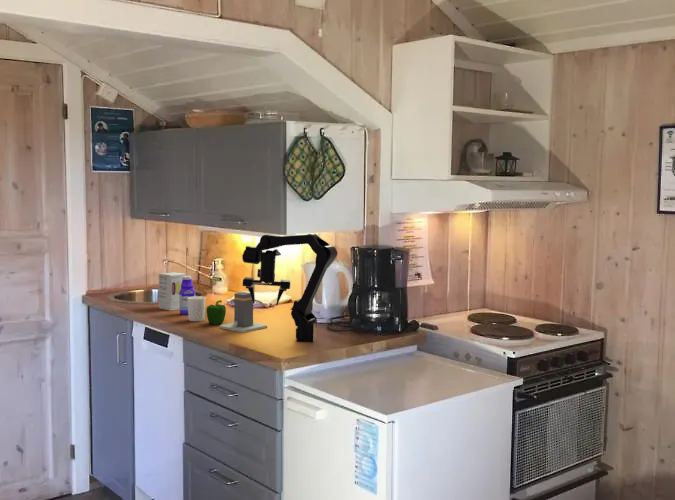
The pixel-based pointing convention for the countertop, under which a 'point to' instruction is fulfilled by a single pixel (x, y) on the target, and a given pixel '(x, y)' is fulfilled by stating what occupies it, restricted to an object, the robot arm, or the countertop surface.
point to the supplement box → (169, 290)
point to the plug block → (243, 309)
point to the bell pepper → (216, 313)
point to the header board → (237, 328)
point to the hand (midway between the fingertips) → (265, 304)
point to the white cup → (196, 308)
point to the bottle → (185, 294)
